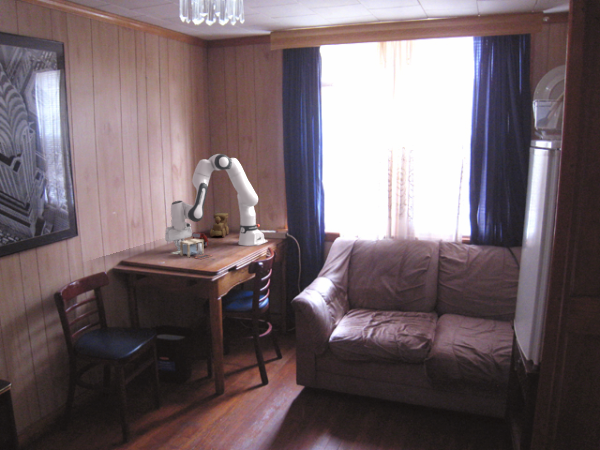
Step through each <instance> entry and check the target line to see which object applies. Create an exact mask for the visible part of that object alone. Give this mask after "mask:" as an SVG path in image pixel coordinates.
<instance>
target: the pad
mask: <svg viewBox="0 0 600 450" xmlns="http://www.w3.org/2000/svg"><path fill="white" fill-rule="evenodd" d="M171 254H174V255H180V251H178V250H177V251H173V252H171Z"/></svg>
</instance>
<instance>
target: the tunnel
mask: <svg viewBox="0 0 600 450" xmlns="http://www.w3.org/2000/svg"><path fill="white" fill-rule="evenodd" d="M198 242H201V244H202V254H201V255H205V253H204V252H205V249H204V248H205V247H204V244H203V240H201V239H196V238H195V239H193V238H191V239H186V240H185V239H184V241H181V242H180V254H179V256H180V257H183V256H184V254H183V244H187V254H186V256H187V259H189V257H190V258H191V255H190V244H196V243H198ZM196 251H197V252H198V246H197V244H196Z"/></svg>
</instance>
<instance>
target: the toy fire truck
mask: <svg viewBox="0 0 600 450" xmlns="http://www.w3.org/2000/svg"><path fill="white" fill-rule="evenodd" d="M191 237H192V239H195V238H196V239H201V240H203V244H204V248H207V247H208V246H209V240H208V237H207V235H206V234H205V233H204V232H202V233H201V232H192V236H191ZM198 243H201V242H198ZM198 243H196V244H198ZM197 247H198V245H197Z"/></svg>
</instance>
